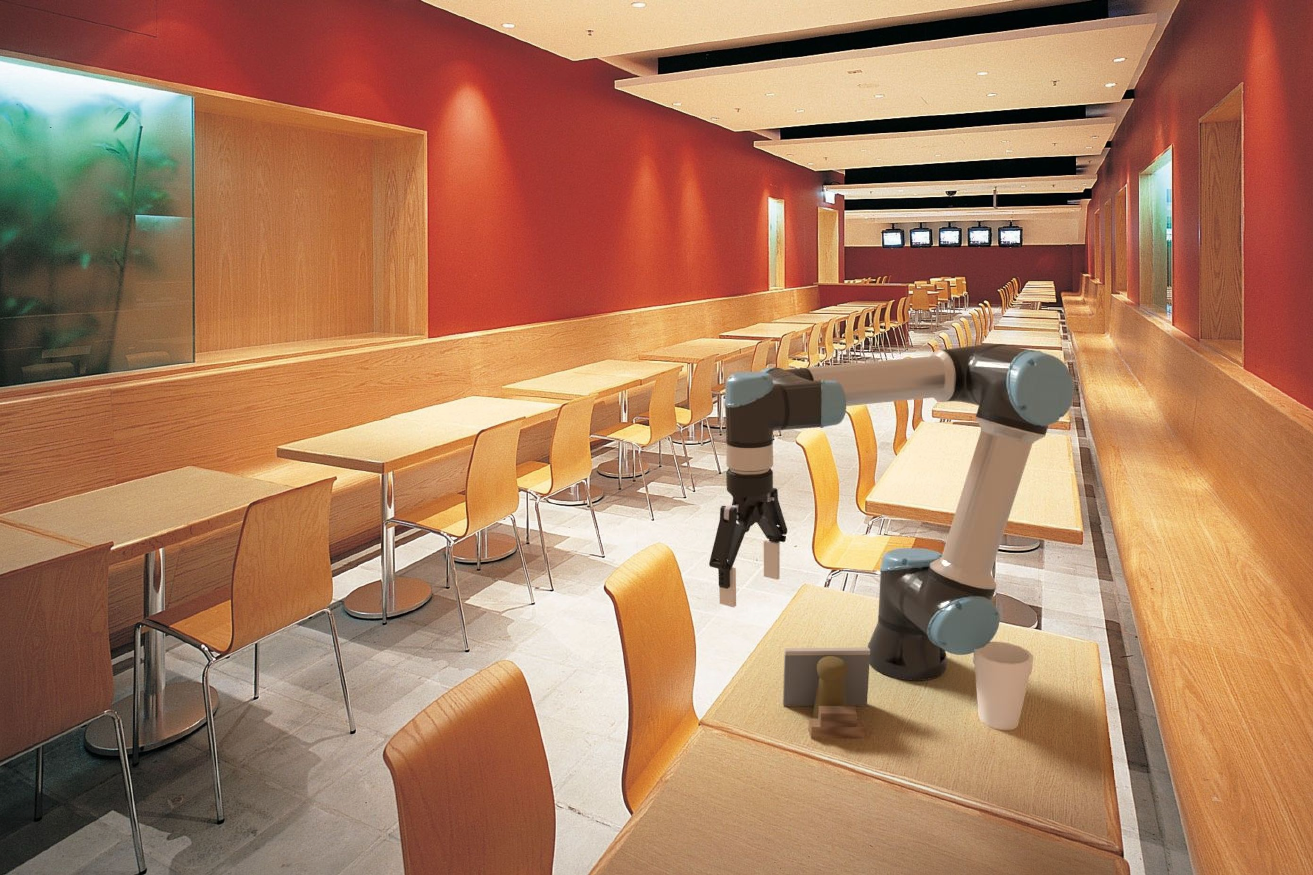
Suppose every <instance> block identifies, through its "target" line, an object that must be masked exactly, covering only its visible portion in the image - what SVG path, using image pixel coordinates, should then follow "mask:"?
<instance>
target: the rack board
mask: <svg viewBox="0 0 1313 875" xmlns="http://www.w3.org/2000/svg"><path fill="white" fill-rule="evenodd" d="M783 655H784V661H783V662H784V664H783V684H782V685H783V687H782V688H783V692H782V705H783V707H814V704H815V699H816V693H817V688H818V683H819V678H820V677H819V675H818V673H817V664H818V662H819V660H820V659H821V658H824V657H827V656H834V657H838V658H840V659H842V660H843V661H844V662H845V663H846V665H847V675H846V678H845V679H844V688H845V699H846V706H854V707H856V706H857V707H858V706H863V707H865V706H867V705H868V695H869V694H868V693H869V678H870V675H869V673H870V664H869V662H870V649H869V647H868V646H866V647H785V648H784V654H783Z"/></svg>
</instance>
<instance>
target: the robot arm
mask: <svg viewBox="0 0 1313 875" xmlns="http://www.w3.org/2000/svg"><path fill="white" fill-rule="evenodd" d="M725 381H726V382H725V392H724V393H725V394H724V402H723V403H724V407H725V408H724V409H725V410H724V412H725V416H724V417H725V434H726V435H725V436H726V437H725V438H726V439H725V443H726V447H725V449H726V459H725V460H726V464H725V465H726V467H727V470H726V471H725V472H726V473H725V474H726V478H725V479H726V491H727V492H728V494H730V496H732V502H731V505H729V506H727V505H721V506H720V509H719V511H720V512H719V521H718V522H719V523H718V525H717V529H716V534H715V538H714V541H713V546H712V550H711V555H710V557H709V558H710V559H709V564H708V566H709V567H710V568H715V569H718V571H717V572H718V587H719V604H720V605H723V606H728V607H731V608H735V607H737V568H736V567H733V566H734V563H735V561H736V558H737V556H738V553H739V551H740V547H741V545H742V542H743V540H744V537H745V535H746V533H748V532H749V531H750V529H751V527H752V526H754V525H755V524H757V525H758V526H759V528H760V530H761V531H762V533H763V535H764V536H765V537H766V539H765V540H763V577H765V578H768V579H774V580H776V581H777V580H779V579H780V574H781V573H780V570H781V569H780V563H781V562H780V554H781V552H780V549H781V548H780V542H781V543H785V542H786V540H787V537H786V535H787V533H788V527H787V524H786V521H785V518H784V514H783V512H782V508H781V503H780V501H779V493H778V488H776V487H774V471H773V470H772V467H774V447H773V446H774V445H773V444H774V443H773V442H774V432H775V431H776V432H777V431H787V430H790V431H791V430H800V429H801V430H802V429H814V428H816V429H817V428H820V429H823V428H827V427H831V426H837V425H840V424H841V423H842V422H843V420H845V416H846V412H847V407H853V406H860V405H871V404H872V405H873V404H881V403H891V402H902V401H903V402H904V401H911V400H921V399H931V398H933V399H934V400H935V401H937V402H938V403H946V402H947V403H948V402H959V403H960V402H961V403H966V404H971V405H976V406H978V407H977V408H978V409H977V411H976V414H975V420H976V421H977V423H978V425H979V428H980V433H979V435H978V439H977V443H976V445H975V448H974V452H973V455H972V457H971V458H972V459H971V462H970V464H969V468H968V471H967V474H966V478H965V481H964V483H963V486H962V490H961V493H960V498H959V501H958V502H957V506H956V509H955V513H954V516H953V519H952V523H951V526H950V529H949V532H948V534H947V538H946V541H945V545H944V548H943V551H942V553H941V552H939V551H936V550H932V549H929V548H917V547H907V548H906V547H905V548H904V547H903V548H896V549H895V548H894V549H890V550H889V551H887V552H885V554H883V555H882V559H881V563H880V568H879V571H880V576H879V577H880V579H879V596H878V598H879V600H878V617H877V623H876V626H875V628H874V630H873V632H872V635H871V637H870V640H869V642H868V645H867V647H869V649H870V662H869V666H870V667H871V668H873V669H874V670H876V671H877V672H879V673H881V674H883V675H886V676H888V677H893V678H896V679H901V680H906V681H907V680H908V681H927V680H932V679H935V678H938V677H940V676H942V675H943V674H944V673H945V672H946V669H947V661H948V660H947V658H948V657H947V653H949V654H952V655H956V656H963V655H970V654H974V649H979V648H983V647H985V646H986V645H987V644H988V643H989V642H992V641H993V639H994V637H995V636H996V634H997V632H998V629H999V626H1000V621H1001V620H1000V614H999V612H998V608H997V606H996V604H995V603H993V598H994V596H995V595H994V594H995V593H996V590H997V589H996V588H997V582H996V580H995V579H994V577H993V576H992V570H993V567H994V564H995V562H996V559H997V554H998V552H999V549H1000V545H1001V543H1002V539H1003V536H1004V533H1005V530H1006V526H1007V524H1008V521H1009V517H1010V514H1011V511H1012V509H1013V508H1012V507H1013V505H1014V503H1015V499H1016V495H1017V493H1018V489H1019V486H1020V484H1021V481H1022V480H1021V479H1022V477H1023V475H1024V471H1025V467H1026V465H1027V462H1028V458H1029V455H1030V452H1031V450H1032V446H1033V444H1034V443H1035V442H1038V441H1039V440H1041V439H1043V438H1045V437H1046V434H1047V431H1048V427H1049V426H1050V425H1052V424H1055V423H1057V422H1059V421H1060V418H1062V417H1065V416H1066V414H1067V413H1068V412H1069V410H1070V408H1071V406H1072V404H1073V401H1074V395H1075V383H1074V380H1073V376H1072V373H1071V372H1070V371H1069V368H1068V366H1067V365H1066V364H1065V363H1064V362H1063V361H1062V360H1061V359H1060V358H1059V357H1056V356H1054V355H1051V354H1048V353H1046V352H1043V351H1040V350H1034V349H1028V348H1023V347H1022V348H1021V347H1016V346H1010V345H1009V346H1008V345H1007V344H1000V343H986V344H985V343H984V344H983V343H982V344H974V345H967V346H962V347H954V348H948V349H947V348H946V349H937V350H935V351H933V352H931V354H930V355H929V356H922V357H910V358H899V359H887V360H878V361H866V362H857V363H844V364H833V365H822V366H813V367H803V368H802V367H801V368H790V369H783V368H780V367H775V366H774V367H772V366H771V367H765V368H764V369H761V370H760V371H742V372H741V371H740V372H736V373H732V374H730V375H729V376H728V377H727V379H726V380H725ZM946 652H947V653H946Z"/></svg>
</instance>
